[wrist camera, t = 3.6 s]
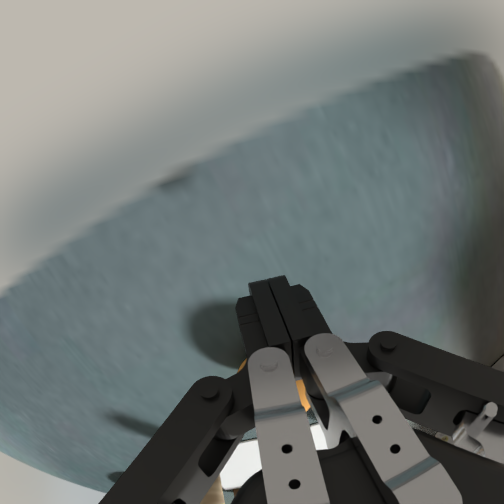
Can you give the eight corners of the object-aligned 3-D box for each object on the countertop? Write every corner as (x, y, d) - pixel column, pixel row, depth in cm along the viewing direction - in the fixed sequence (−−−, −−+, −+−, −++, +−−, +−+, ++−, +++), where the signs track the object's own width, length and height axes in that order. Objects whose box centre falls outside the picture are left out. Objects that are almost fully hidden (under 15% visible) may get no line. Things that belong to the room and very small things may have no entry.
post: (212, 441, 28) (225, 520, 20) (218, 450, 29) (230, 524, 22) (187, 444, 28) (196, 523, 20) (194, 454, 29) (204, 527, 21)
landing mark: (343, 415, 30) (343, 416, 30) (332, 463, 38) (333, 464, 38) (194, 449, 28) (194, 450, 28) (225, 488, 37) (225, 490, 36)
